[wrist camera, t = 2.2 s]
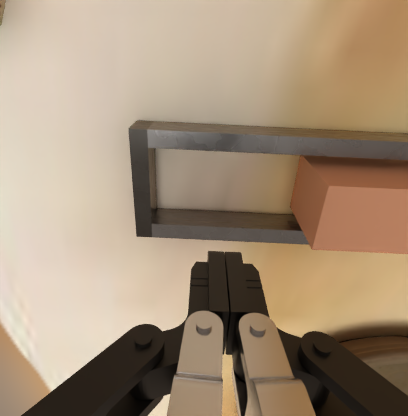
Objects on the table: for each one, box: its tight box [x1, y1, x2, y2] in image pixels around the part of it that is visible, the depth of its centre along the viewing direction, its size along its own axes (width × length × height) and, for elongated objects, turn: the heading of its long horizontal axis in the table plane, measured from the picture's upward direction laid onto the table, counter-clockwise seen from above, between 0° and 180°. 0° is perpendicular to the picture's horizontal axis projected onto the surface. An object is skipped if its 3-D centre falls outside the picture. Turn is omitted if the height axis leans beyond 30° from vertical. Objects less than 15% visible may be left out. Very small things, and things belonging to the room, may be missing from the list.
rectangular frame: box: [129, 121, 408, 244], centre depth 22 cm, size 23×8×2 cm, turn 87°
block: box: [290, 155, 408, 254], centre depth 21 cm, size 8×4×6 cm, turn 87°
